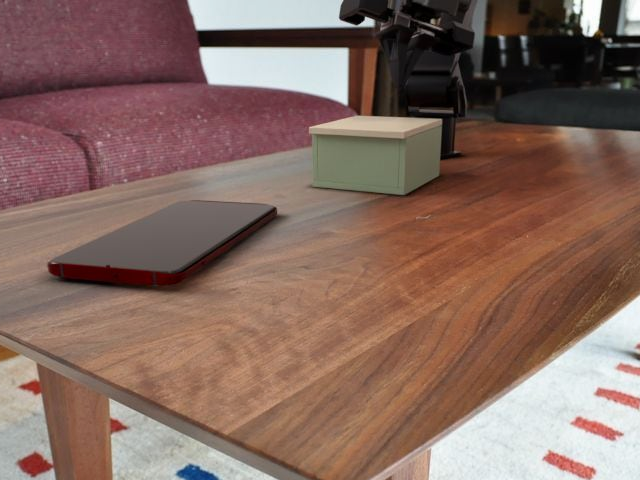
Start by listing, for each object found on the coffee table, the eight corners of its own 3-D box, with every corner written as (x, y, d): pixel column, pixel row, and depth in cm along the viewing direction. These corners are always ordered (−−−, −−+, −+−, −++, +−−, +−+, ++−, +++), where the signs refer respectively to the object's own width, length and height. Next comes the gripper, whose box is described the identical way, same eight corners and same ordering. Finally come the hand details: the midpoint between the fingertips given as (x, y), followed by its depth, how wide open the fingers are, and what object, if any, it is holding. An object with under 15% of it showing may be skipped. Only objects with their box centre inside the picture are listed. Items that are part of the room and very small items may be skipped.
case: (404, 195, 81) (406, 138, 79) (312, 186, 87) (311, 133, 84) (439, 176, 92) (442, 125, 90) (356, 169, 98) (356, 121, 96)
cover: (403, 138, 78) (404, 131, 78) (308, 133, 84) (308, 127, 83) (442, 125, 90) (442, 118, 90) (356, 121, 96) (356, 115, 95)
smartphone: (282, 203, 73) (177, 272, 50) (282, 217, 73) (178, 292, 51) (179, 197, 76) (37, 261, 53) (180, 211, 76) (40, 279, 54)
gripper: (392, -77, 79) (372, 57, 80) (511, -25, 87) (491, 95, 88) (346, -45, 89) (328, 74, 89) (456, -1, 97) (439, 107, 98)
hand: (398, 88), depth 91 cm, fingers closed
